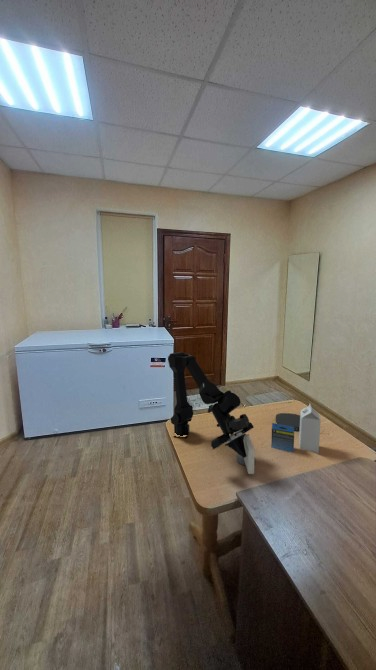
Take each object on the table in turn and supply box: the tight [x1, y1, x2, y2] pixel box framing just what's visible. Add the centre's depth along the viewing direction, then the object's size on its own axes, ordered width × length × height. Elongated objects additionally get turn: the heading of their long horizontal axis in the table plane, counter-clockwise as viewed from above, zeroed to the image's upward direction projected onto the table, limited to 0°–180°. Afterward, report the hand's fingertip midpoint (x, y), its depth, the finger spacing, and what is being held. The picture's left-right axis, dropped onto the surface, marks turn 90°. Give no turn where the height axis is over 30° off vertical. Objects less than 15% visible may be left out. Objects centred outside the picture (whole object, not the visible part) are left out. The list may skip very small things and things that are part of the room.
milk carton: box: [298, 404, 321, 455], centre depth 112 cm, size 7×7×19 cm
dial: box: [236, 433, 256, 475], centre depth 101 cm, size 14×7×11 cm, turn 179°
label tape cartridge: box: [270, 422, 295, 453], centre depth 112 cm, size 9×4×12 cm, turn 65°
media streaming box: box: [275, 412, 300, 432], centre depth 136 cm, size 15×15×3 cm
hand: (245, 457), depth 97 cm, fingers closed
